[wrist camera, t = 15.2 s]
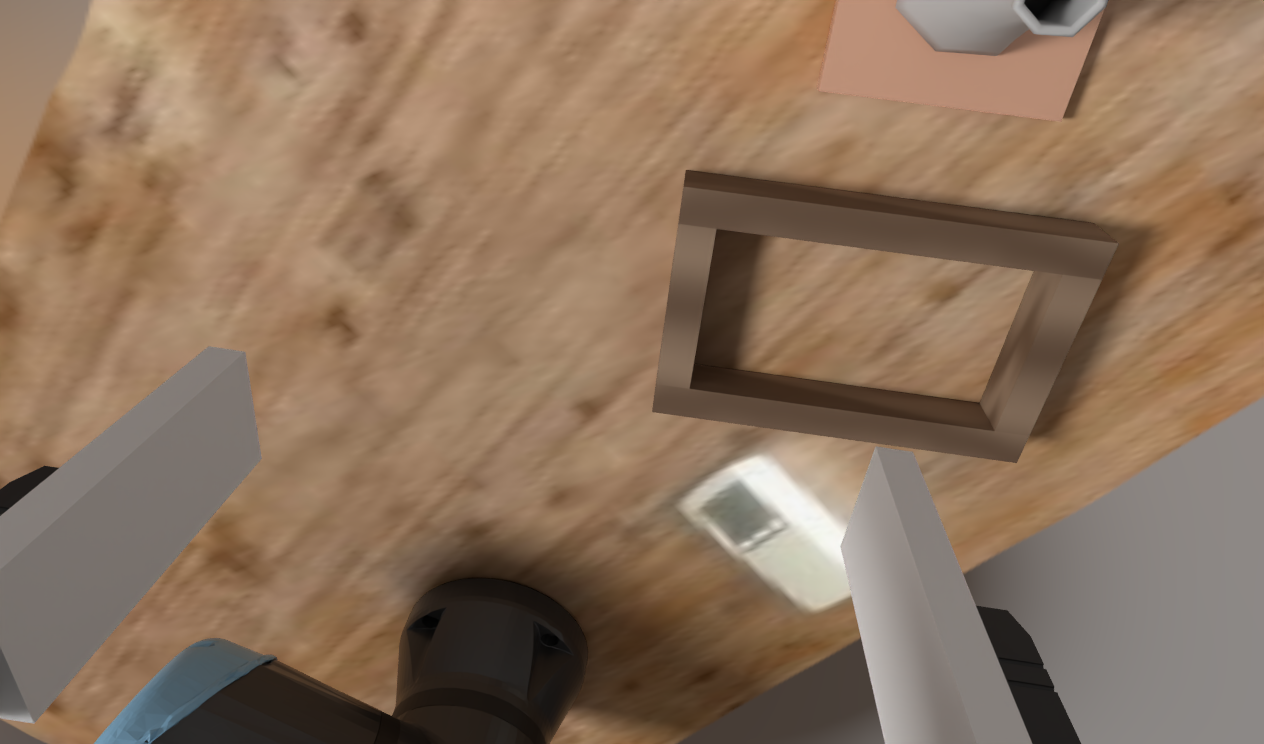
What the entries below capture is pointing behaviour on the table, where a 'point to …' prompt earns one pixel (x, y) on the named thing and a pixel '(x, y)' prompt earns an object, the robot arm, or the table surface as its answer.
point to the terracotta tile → (949, 65)
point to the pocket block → (1048, 246)
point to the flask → (994, 21)
